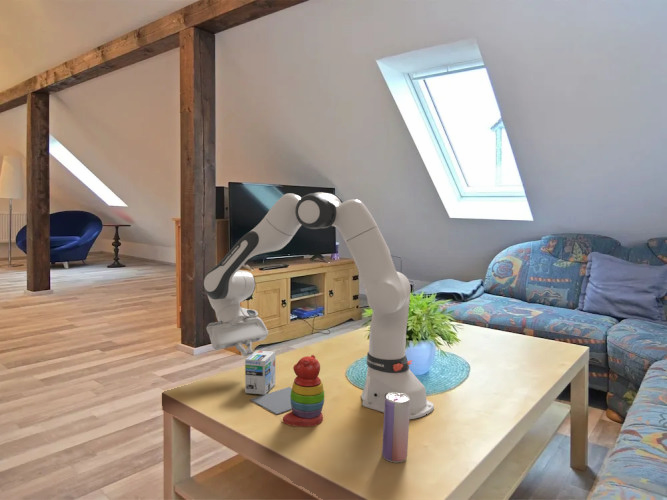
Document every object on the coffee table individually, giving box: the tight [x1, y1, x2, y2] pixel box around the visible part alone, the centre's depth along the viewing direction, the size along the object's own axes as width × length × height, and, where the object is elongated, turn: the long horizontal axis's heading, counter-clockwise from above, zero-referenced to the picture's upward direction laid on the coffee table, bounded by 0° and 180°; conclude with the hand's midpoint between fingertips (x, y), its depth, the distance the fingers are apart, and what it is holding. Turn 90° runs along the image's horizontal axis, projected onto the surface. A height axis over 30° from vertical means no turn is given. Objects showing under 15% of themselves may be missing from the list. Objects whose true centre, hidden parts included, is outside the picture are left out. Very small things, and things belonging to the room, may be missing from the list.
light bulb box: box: [244, 350, 277, 396], centre depth 157 cm, size 11×7×11 cm, turn 169°
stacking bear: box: [282, 354, 325, 428], centre depth 137 cm, size 11×10×18 cm
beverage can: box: [381, 393, 410, 464], centre depth 119 cm, size 6×6×15 cm
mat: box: [250, 386, 292, 416], centre depth 149 cm, size 13×15×1 cm
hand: (248, 354), depth 162 cm, fingers closed
